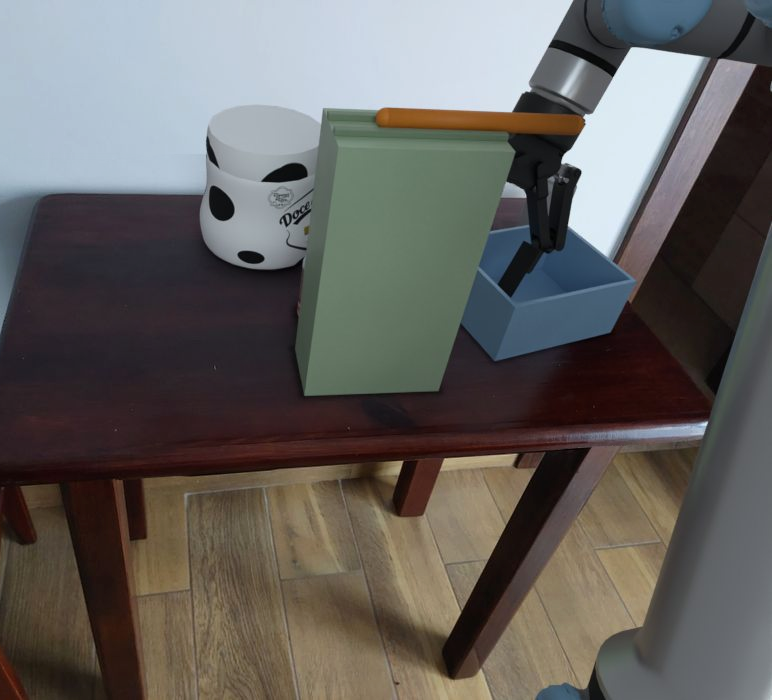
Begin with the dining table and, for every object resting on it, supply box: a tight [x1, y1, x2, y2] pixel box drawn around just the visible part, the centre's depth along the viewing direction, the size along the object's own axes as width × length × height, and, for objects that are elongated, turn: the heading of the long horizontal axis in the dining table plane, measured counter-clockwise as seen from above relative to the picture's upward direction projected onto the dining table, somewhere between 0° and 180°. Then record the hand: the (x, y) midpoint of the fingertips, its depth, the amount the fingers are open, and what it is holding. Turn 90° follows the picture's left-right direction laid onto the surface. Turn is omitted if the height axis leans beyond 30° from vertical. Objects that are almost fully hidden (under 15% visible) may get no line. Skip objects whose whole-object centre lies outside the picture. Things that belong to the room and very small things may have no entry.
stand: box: [294, 107, 515, 397], centre depth 71 cm, size 16×8×31 cm, turn 98°
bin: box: [460, 225, 638, 362], centre depth 90 cm, size 15×19×9 cm
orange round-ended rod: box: [375, 107, 585, 135], centre depth 61 cm, size 20×2×2 cm, turn 98°
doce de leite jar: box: [199, 104, 321, 272], centre depth 92 cm, size 17×17×18 cm
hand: (458, 276), depth 80 cm, fingers open, 13 cm apart
